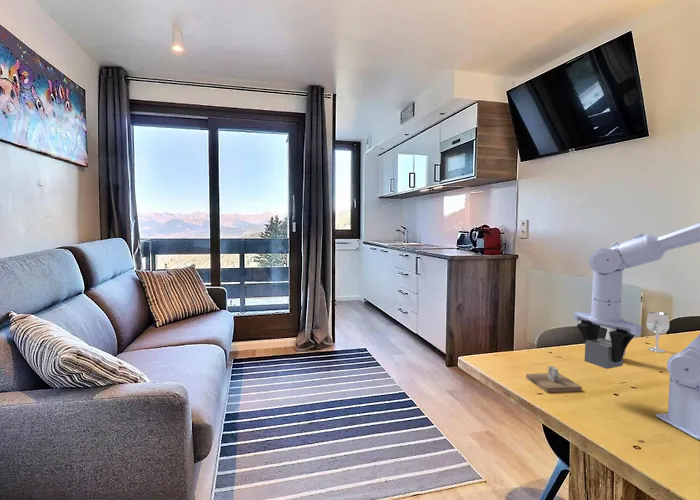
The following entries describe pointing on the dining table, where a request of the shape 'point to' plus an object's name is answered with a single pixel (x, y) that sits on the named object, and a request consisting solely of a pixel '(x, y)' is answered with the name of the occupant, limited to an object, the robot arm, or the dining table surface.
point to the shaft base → (553, 381)
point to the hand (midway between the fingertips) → (603, 357)
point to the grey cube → (600, 353)
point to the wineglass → (657, 326)
